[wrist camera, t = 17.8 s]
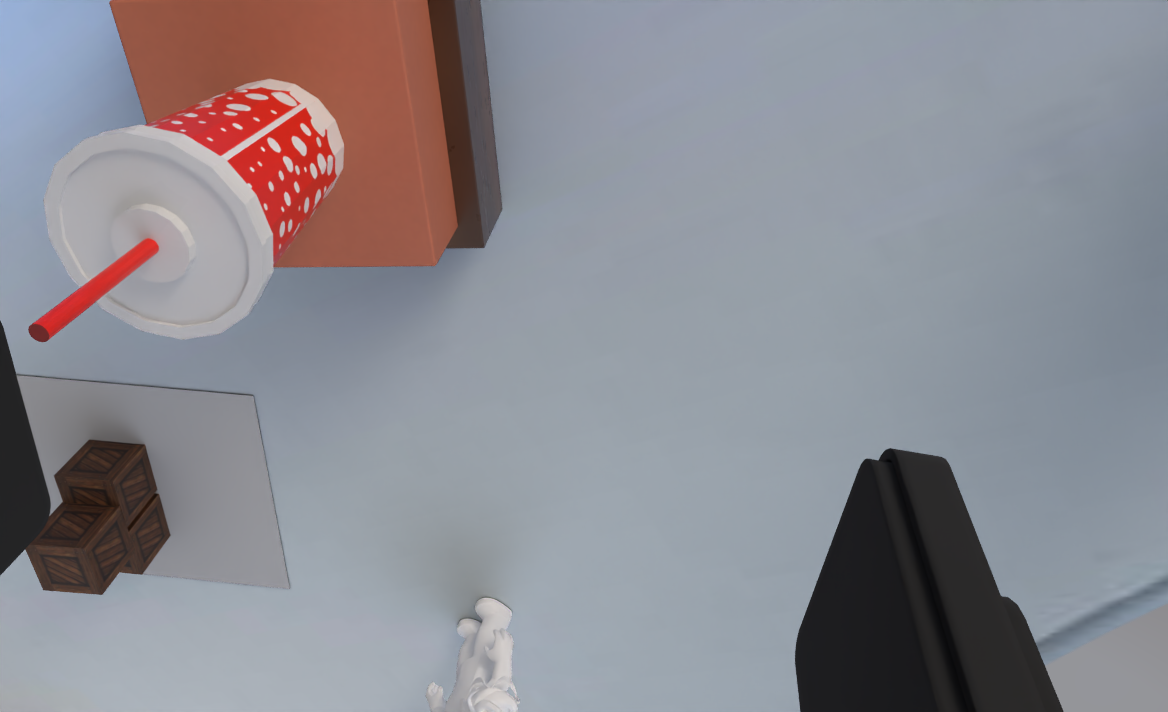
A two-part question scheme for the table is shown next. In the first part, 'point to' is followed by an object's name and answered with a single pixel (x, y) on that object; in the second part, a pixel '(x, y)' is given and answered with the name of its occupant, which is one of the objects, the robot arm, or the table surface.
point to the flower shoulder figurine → (481, 665)
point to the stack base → (466, 118)
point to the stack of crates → (150, 486)
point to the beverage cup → (189, 209)
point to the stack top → (343, 85)
